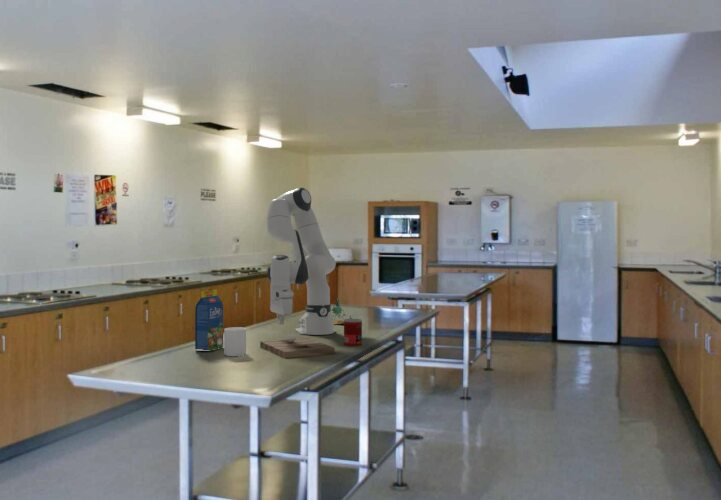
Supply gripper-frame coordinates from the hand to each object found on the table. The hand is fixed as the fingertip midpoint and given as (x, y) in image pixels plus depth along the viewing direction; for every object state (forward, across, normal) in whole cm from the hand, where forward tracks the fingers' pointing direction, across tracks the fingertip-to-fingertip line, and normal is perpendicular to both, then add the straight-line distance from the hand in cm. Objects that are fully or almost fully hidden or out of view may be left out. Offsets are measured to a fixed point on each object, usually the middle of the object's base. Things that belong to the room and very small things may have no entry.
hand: (280, 324), depth 305 cm
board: (+10, +15, +2) cm, 18 cm away
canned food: (+10, +10, +30) cm, 33 cm away
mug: (+10, +14, -23) cm, 29 cm away
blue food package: (+9, -1, -31) cm, 32 cm away
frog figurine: (+10, -54, +50) cm, 74 cm away
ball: (+5, +9, +2) cm, 10 cm away
